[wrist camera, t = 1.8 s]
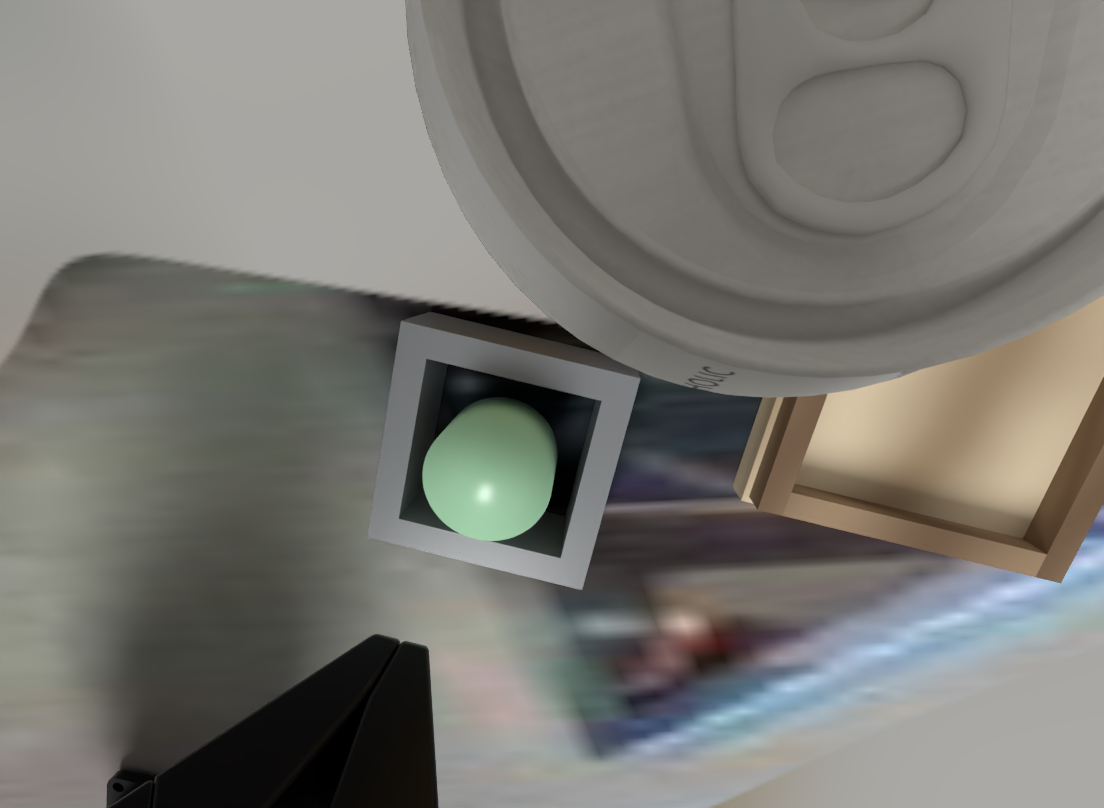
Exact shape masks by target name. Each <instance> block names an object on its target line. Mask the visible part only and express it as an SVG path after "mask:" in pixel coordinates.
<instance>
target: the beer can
mask: <svg viewBox="0 0 1104 808" xmlns="http://www.w3.org/2000/svg"><path fill="white" fill-rule="evenodd" d="M405 2H406V18H407V37H408V43H409V50H410V56H411V62H412V68H413V75H414V81H415V87H416V91H417V94H418V98H419V102H420V105H421V110H422V113H423V117H424V121H425V124H426V128H427V132H428V135H429V138H430V140H431V143H432V145H433V148H434V150H435V153H436V156H437V158H438V161H439V164H440V166H441V169H442V171H443V174H444V177H445V179H446V181H447V183H448V185H449V187H450V189H451V191H452V193H453V194H454V196H455V198H456V200H457V202H458V204H459V206H460V208H461V210H462V212H463V214H464V216H465V217H466V219H467V221H468V222H469V224H470V225H471V227H472V228H473V230H474V231H475V233H476V234H477V236H478V237H479V239H480V240H481V242H482V243H483V245H484V246H485V248H486V250H487V251H488V253H489V254H490V255H491V256H492V258H494V260H495V261H496V262H497V264H498V265H499V266H500V267H501V268H502V269H503V271H504V272H505V273H506V274H507V276H508V277H509V278H510V279H511V280H512V282H513V283H514V284H515V285H516V286H517V287H518V288H519V289H520V290H521V291H522V292H523V293H524V294H525V295H526V296H527V297H528V298H529V299H531V301H532V302H534V303H535V304H536V305H537V306H538V307H539V308H540V309H541V310H542V311H543V312H544V313H545V314H546V315H547V316H549V317H550V318H551V319H553V320H554V321H555V322H557V323H558V324H559V325H561V326H562V327H563V328H565V329H566V330H567V331H569V332H570V333H571V334H573V335H574V336H575V337H576V338H578V339H579V340H581V341H583V342H584V343H586V344H588V345H590V346H591V347H593V348H595V349H596V350H598V351H600V352H601V353H603V354H605V355H607V356H608V357H610V358H612V359H613V360H616V361H618V362H620V363H622V364H625V365H627V366H629V367H632V368H634V369H636V370H638V371H641V372H643V373H645V374H648V375H650V376H653V377H656V378H659V379H663V380H666V381H669V382H672V383H676V384H679V385H682V386H686V387H689V388H694V389H700V390H705V391H710V392H716V393H721V394H727V395H738V396H752V397H766V398H775V397H800V396H815V395H822V394H828V393H835V392H842V391H848V390H855V389H858V388H862V387H866V386H870V385H874V384H878V383H882V382H885V381H889V380H893V379H897V378H900V377H902V376H905V375H908V374H910V373H913V372H916V371H918V370H921V369H924V368H928V367H932V366H936V365H939V364H943V363H947V362H951V361H955V360H959V359H962V358H966V357H970V356H974V355H977V354H980V353H982V352H985V351H988V350H990V349H993V348H996V347H999V346H1001V345H1004V344H1007V343H1009V342H1012V341H1015V340H1017V339H1020V338H1023V337H1025V336H1027V335H1029V334H1032V333H1034V332H1036V331H1038V330H1040V329H1042V328H1044V327H1046V326H1048V325H1050V324H1052V323H1054V322H1056V321H1058V320H1060V319H1062V318H1064V317H1067V316H1069V315H1071V314H1073V313H1075V312H1076V311H1078V310H1080V309H1081V308H1083V307H1085V306H1086V305H1088V304H1090V303H1091V302H1093V301H1095V300H1096V299H1098V298H1099V297H1101V296H1103V295H1104V0H405Z"/></svg>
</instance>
